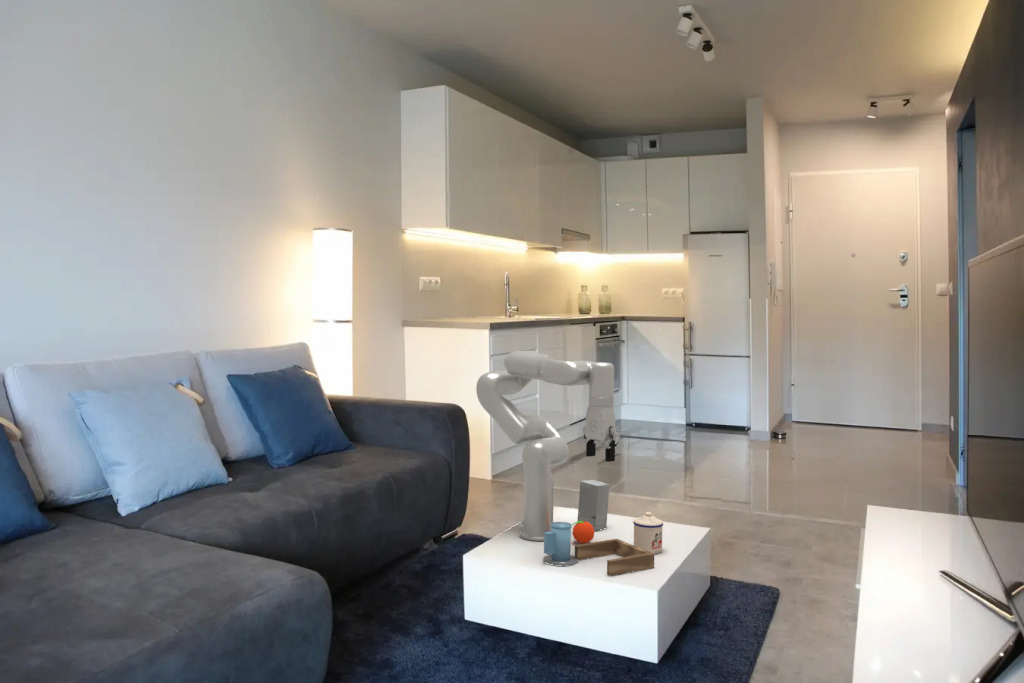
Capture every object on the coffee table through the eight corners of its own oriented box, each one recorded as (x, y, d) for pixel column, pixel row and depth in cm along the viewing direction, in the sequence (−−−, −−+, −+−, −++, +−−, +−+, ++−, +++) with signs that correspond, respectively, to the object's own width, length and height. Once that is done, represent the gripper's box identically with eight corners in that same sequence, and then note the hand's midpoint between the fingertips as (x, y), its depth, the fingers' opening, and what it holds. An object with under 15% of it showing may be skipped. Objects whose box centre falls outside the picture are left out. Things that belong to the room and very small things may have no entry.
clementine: (570, 546, 234) (570, 523, 233) (567, 539, 240) (568, 517, 240) (595, 546, 234) (595, 523, 234) (592, 540, 241) (593, 518, 240)
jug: (563, 554, 223) (564, 520, 223) (575, 560, 218) (575, 525, 218) (540, 558, 219) (540, 524, 219) (551, 564, 214) (551, 529, 213)
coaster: (537, 558, 220) (537, 556, 220) (565, 553, 226) (565, 551, 226) (556, 568, 212) (556, 566, 212) (584, 563, 217) (584, 561, 217)
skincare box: (576, 527, 256) (577, 481, 256) (590, 523, 261) (591, 478, 261) (595, 532, 250) (596, 485, 250) (609, 528, 255) (610, 482, 254)
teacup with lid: (656, 556, 224) (657, 517, 224) (628, 551, 229) (628, 513, 229) (670, 546, 234) (670, 509, 234) (642, 542, 239) (643, 505, 239)
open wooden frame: (574, 559, 221) (574, 545, 221) (616, 551, 228) (616, 538, 228) (610, 576, 206) (610, 561, 206) (654, 567, 214) (654, 553, 214)
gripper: (574, 400, 234) (573, 455, 234) (608, 406, 219) (607, 464, 219) (594, 399, 238) (593, 453, 238) (628, 405, 223) (627, 462, 223)
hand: (600, 458), depth 229 cm, fingers open, 9 cm apart
